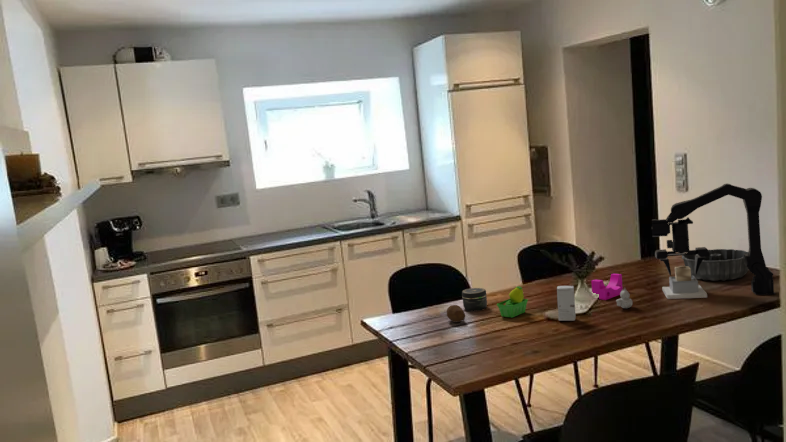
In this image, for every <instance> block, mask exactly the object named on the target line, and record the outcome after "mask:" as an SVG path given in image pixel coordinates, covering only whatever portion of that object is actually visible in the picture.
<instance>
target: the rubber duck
mask: <svg viewBox="0 0 786 442" xmlns="http://www.w3.org/2000/svg"><path fill="white" fill-rule="evenodd" d="M619 296H620V298H618V299H616V300H615V302H616V306H617V307H621V308H622V309H630V308H631V307H632V306H633V299H632V298H631V297H630V296H631V294H630V292H629V291H628V290H627V289H626V288H623V290H622V291H621V293H620V295H619Z"/></svg>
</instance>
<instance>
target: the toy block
mask: <svg viewBox="0 0 786 442" xmlns="http://www.w3.org/2000/svg"><path fill="white" fill-rule="evenodd" d="M622 276H623V275H622V274H621V273H620V274H619V273H611V274H610V278H609V282H608V284H607V285H605V283H604V280H603V279H592V280H590V282H591V293H592V292H593V293H596V294H599V299H598V300H603V301H607V300H609V299H612V298H614V297H617V296H620V293H621V291H622V290H623V289H624V287H623V277H622Z"/></svg>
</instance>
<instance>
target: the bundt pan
mask: <svg viewBox="0 0 786 442" xmlns="http://www.w3.org/2000/svg"><path fill="white" fill-rule="evenodd" d="M708 250H709V256H707V257H706V259H703V260H702V262H701V264H700V266H699V269H698V272H697V274H695V255H681V259H682V260H683V264H684V266H689V267H690V269H691V276H694V277H695V278H696V279H697V280H703V281H712V282H718V281H723V282H725V281H726V280H728V281H732V280H736V279H741V278H743V277H744V276H745V275H746V274H747V273H748V271H749V269H748V268H747V267H746V265H745V264H744V262H745V257H744V253H745V254H748V251H746V250H743V249H733V248H731V249H729V248H728V249H726V248H722V249H721V248H715V249H708Z"/></svg>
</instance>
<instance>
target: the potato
mask: <svg viewBox="0 0 786 442" xmlns="http://www.w3.org/2000/svg"><path fill="white" fill-rule="evenodd" d="M446 316H447V318H448V319H449V321H452V322H454V323H461V322H463V321H464V320H465V318H466V314H465V311H464V310H463V308H462V307H461V306H459V305H458V304H453V305H450V306H448V307H447V309H446Z"/></svg>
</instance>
